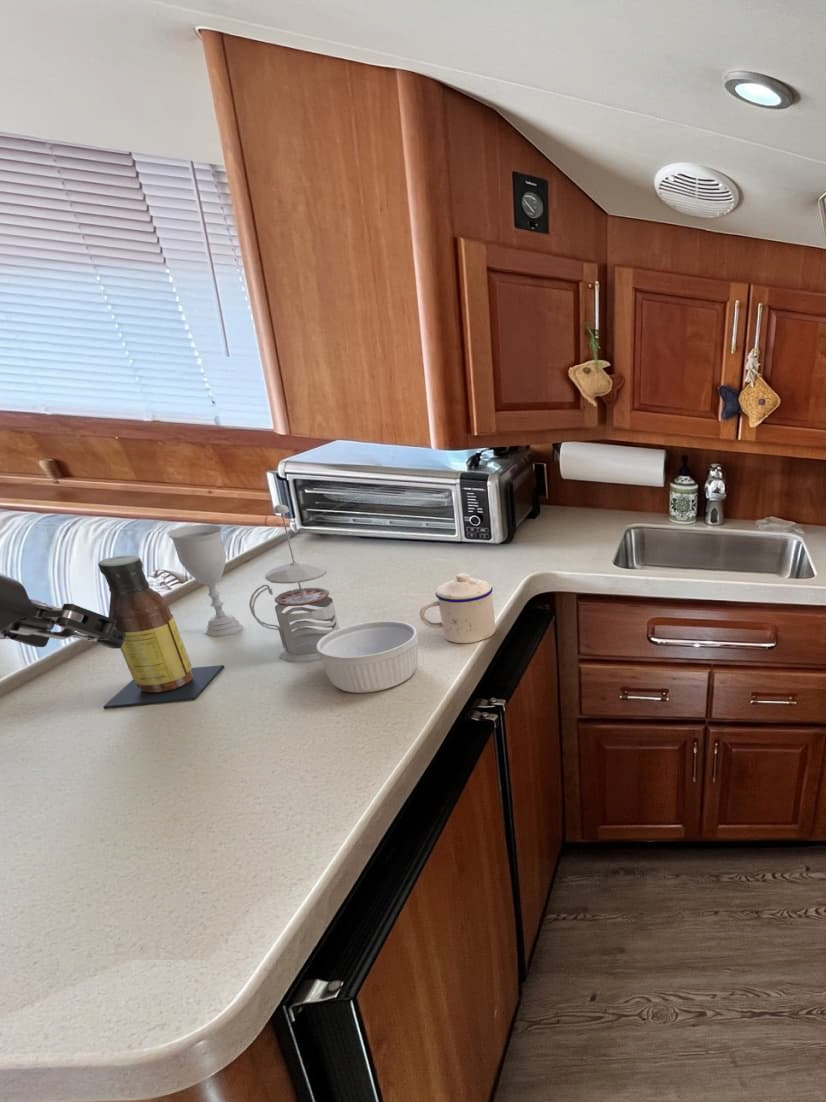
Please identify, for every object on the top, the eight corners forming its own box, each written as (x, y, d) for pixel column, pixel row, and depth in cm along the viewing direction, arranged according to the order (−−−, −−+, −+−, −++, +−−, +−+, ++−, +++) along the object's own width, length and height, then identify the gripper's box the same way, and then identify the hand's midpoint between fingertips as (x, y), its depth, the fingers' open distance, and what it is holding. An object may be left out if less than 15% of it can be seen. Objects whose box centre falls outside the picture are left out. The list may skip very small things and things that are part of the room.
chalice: (197, 626, 111) (166, 528, 104) (247, 617, 116) (220, 522, 109) (199, 642, 106) (166, 540, 99) (251, 632, 111) (223, 534, 104)
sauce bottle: (163, 673, 96) (119, 549, 89) (206, 674, 97) (167, 552, 89) (123, 695, 90) (72, 565, 83) (169, 697, 91) (124, 567, 83)
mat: (103, 708, 88) (102, 706, 88) (142, 674, 96) (141, 671, 96) (195, 700, 91) (194, 697, 91) (224, 667, 100) (223, 664, 100)
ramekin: (322, 668, 102) (313, 629, 99) (416, 650, 110) (410, 613, 107) (328, 707, 92) (318, 665, 90) (430, 684, 100) (423, 645, 97)
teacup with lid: (490, 619, 123) (484, 563, 118) (502, 638, 116) (496, 579, 112) (420, 632, 116) (410, 572, 111) (428, 652, 109) (418, 590, 105)
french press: (357, 650, 108) (327, 507, 98) (272, 671, 100) (229, 518, 90) (340, 630, 114) (310, 494, 104) (258, 649, 106) (217, 503, 96)
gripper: (35, 562, 69) (156, 615, 83) (-119, 557, 67) (32, 611, 82) (4, 627, 66) (134, 670, 81) (-158, 623, 64) (6, 667, 79)
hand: (83, 640), depth 81 cm, fingers open, 8 cm apart
